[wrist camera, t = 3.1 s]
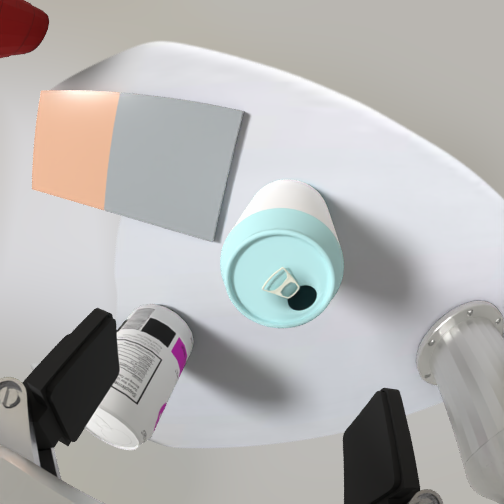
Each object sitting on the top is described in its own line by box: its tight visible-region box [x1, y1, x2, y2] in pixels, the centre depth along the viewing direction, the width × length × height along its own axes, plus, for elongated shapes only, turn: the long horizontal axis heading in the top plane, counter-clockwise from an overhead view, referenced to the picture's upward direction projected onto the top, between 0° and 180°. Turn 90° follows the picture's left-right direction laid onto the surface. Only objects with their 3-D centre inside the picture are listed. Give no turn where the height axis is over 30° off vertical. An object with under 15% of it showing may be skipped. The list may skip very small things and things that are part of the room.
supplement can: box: [85, 304, 194, 450], centre depth 27 cm, size 8×8×15 cm
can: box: [220, 179, 344, 328], centre depth 21 cm, size 7×7×12 cm
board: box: [32, 90, 244, 242], centre depth 26 cm, size 24×12×1 cm, turn 76°
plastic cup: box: [0, 0, 49, 58], centre depth 16 cm, size 11×11×12 cm
